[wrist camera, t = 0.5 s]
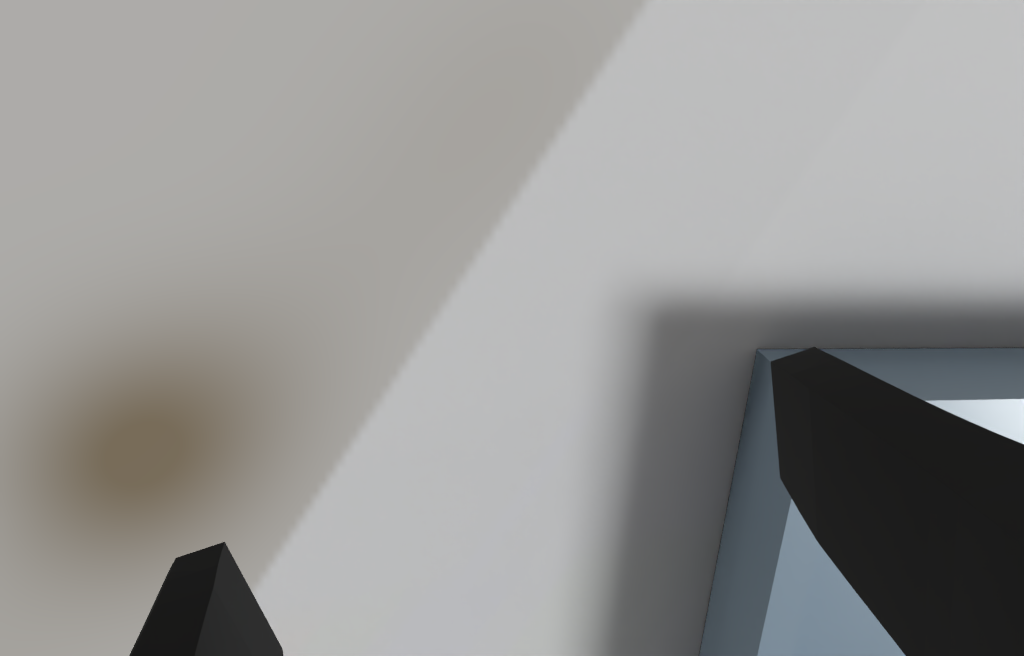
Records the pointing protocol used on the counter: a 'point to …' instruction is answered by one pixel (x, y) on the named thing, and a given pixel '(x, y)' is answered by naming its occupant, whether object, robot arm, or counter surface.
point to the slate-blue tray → (787, 538)
